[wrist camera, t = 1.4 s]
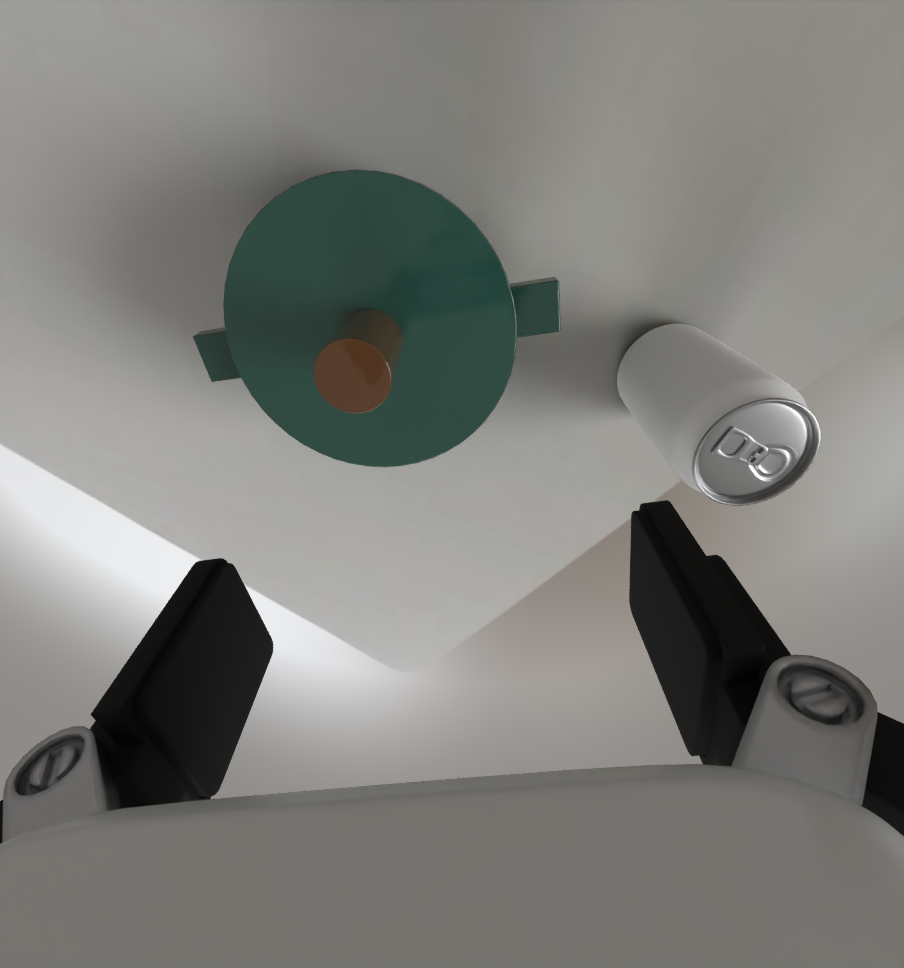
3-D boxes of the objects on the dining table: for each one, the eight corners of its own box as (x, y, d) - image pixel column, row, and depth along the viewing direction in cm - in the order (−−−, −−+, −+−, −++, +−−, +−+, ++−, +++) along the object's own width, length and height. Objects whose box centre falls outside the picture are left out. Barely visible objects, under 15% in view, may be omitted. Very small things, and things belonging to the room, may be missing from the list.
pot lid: (185, 199, 21) (95, 206, 16) (500, 143, 20) (515, 131, 15) (286, 470, 28) (246, 537, 23) (524, 440, 27) (540, 503, 22)
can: (673, 429, 35) (762, 530, 25) (596, 394, 34) (655, 486, 24) (735, 346, 32) (864, 423, 22) (652, 304, 31) (748, 365, 21)
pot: (217, 211, 29) (135, 221, 21) (531, 156, 27) (557, 147, 20) (286, 412, 35) (242, 473, 28) (543, 377, 34) (566, 431, 26)
